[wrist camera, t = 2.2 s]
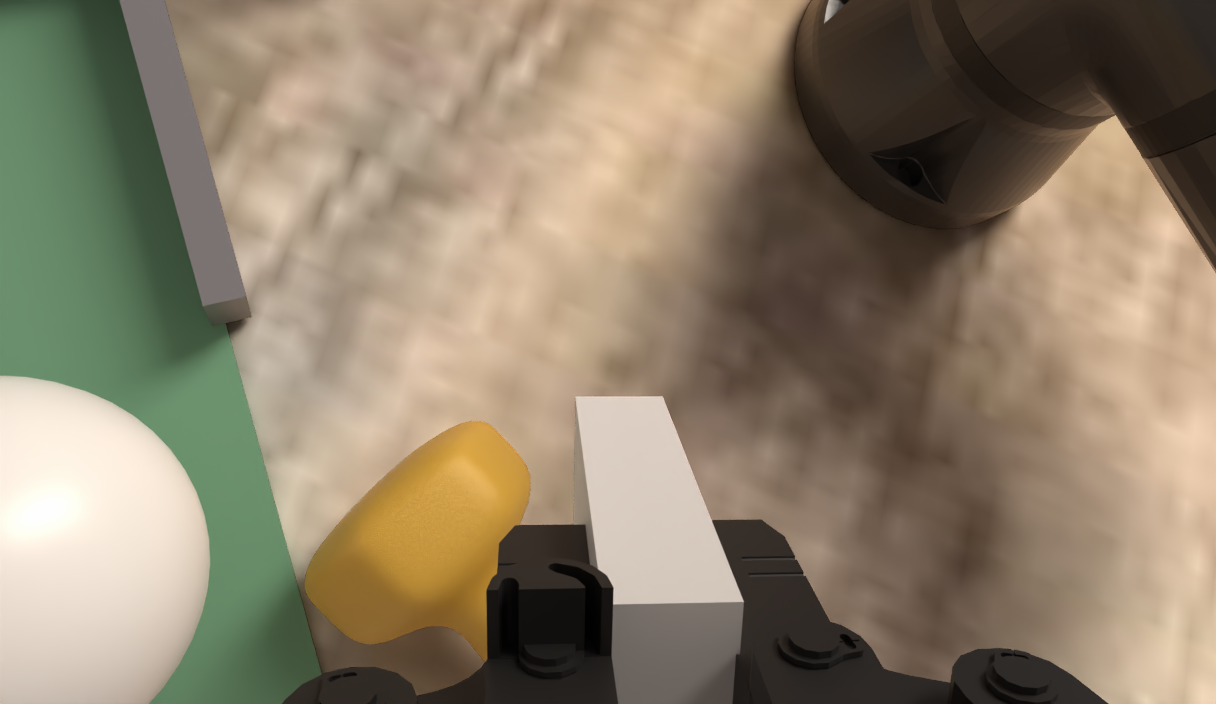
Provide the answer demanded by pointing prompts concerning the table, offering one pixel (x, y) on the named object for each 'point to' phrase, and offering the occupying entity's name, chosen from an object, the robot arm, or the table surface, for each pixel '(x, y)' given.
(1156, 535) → the table surface
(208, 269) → the grey open tray
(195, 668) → the green mat
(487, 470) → the dumbbell
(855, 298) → the table surface
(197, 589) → the ball
